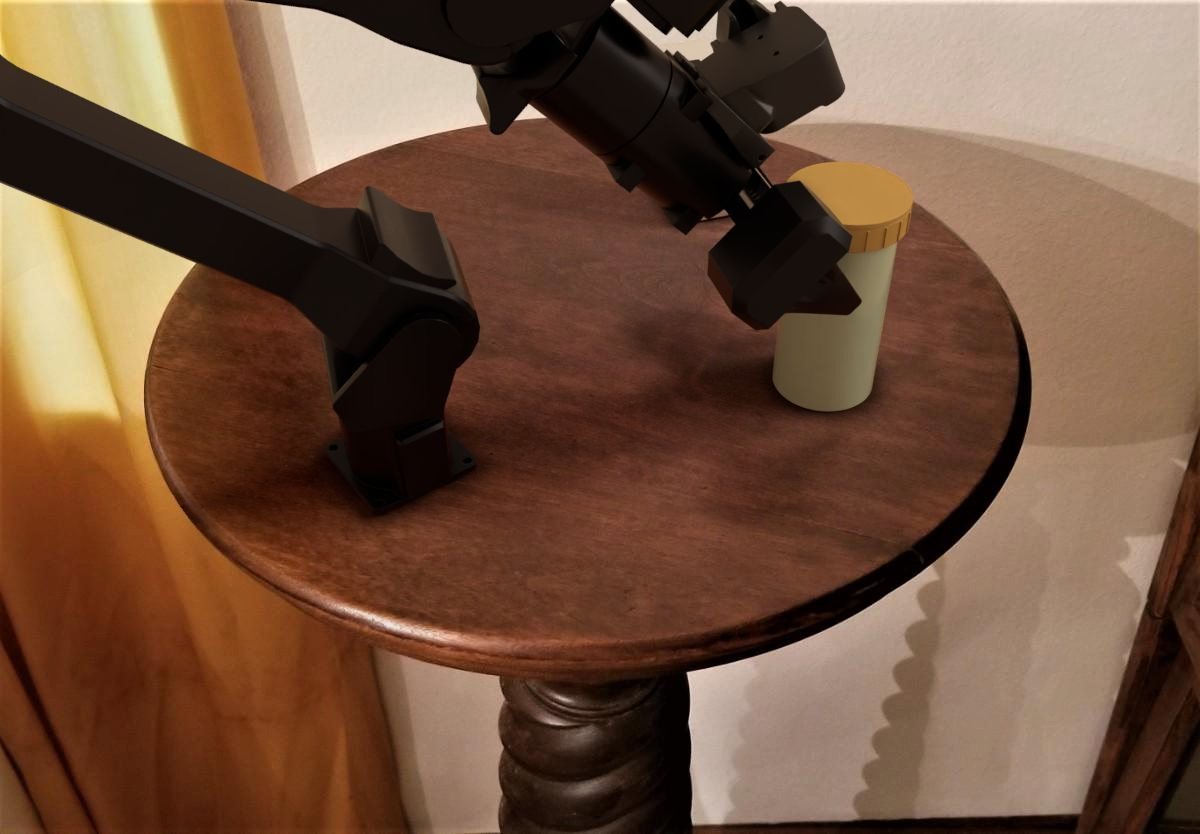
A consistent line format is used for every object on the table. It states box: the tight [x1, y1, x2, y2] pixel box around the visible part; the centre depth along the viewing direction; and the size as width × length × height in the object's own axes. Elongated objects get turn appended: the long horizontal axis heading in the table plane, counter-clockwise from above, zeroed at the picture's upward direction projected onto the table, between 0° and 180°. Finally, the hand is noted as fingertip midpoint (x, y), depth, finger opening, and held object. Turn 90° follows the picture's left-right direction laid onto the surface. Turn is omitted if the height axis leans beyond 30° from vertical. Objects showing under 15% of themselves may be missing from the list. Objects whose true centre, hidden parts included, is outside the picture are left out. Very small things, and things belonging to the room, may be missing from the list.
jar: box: [771, 241, 899, 413], centre depth 66 cm, size 6×6×12 cm
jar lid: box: [786, 161, 914, 253], centre depth 62 cm, size 7×7×2 cm
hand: (818, 261), depth 64 cm, fingers open, 9 cm apart
